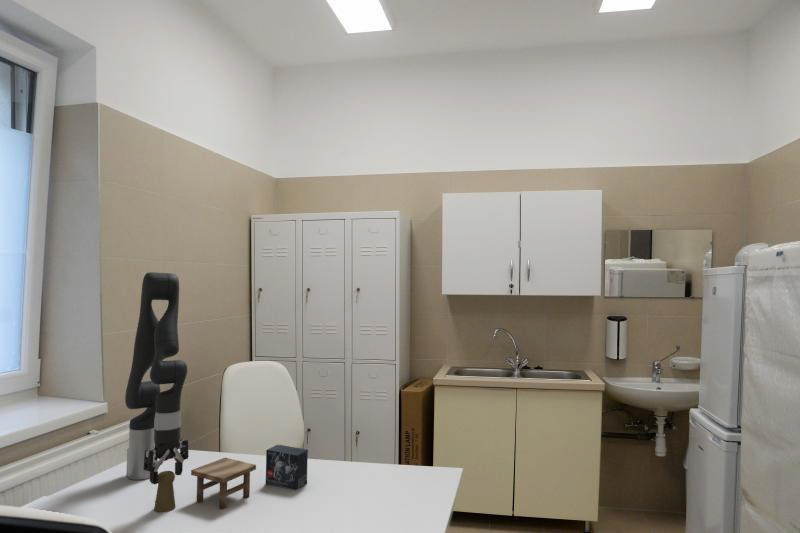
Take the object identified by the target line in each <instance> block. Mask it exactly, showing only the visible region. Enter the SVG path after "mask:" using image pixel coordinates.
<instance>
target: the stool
mask: <svg viewBox="0 0 800 533" xmlns="http://www.w3.org/2000/svg"><path fill="white" fill-rule="evenodd" d="M256 469H257V464H254V463H249V462H246V461H242V460H236V459H234V458H233V459H232V458H229V457H222V458H220V459H218V460H215V461H212V462H209V463H207V464H205V465H204V464H203V465H202V466H201V465H200V466H199V467H195V468H193V469H191V470H190V475H191V476H194V477H196V503H198V504H199V503H202V502H204V491H205V490H207V489H209V488H212V487H214V486H216V485H218V484H219V501H218V502H219V503H218V504H219V506H218V508H219V510H225V509H226V508H227V497H229V496H230V495H233V494H235V493H236V492H239V491H241V490H242V498H245V499H248V498H250V494H251V493H250V490H251V489H250V488H251V486H250V485H251V472H253V471H256ZM242 476H243V483H240V484H238V485H235V486H233V487H231V488H229V489H228V482H230V481H232V480H235V479H237V478H239V477H242ZM205 480H209V481H207V482H206V483H204V482H205Z"/></svg>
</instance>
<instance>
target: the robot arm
mask: <svg viewBox="0 0 800 533" xmlns="http://www.w3.org/2000/svg"><path fill="white" fill-rule="evenodd" d="M140 294H141V296H140V308H139V315H138V316H139V317H138V323H137V328H136V333H135V338H134V339H135V340H134V345H133V353H132V364H131V367H130V368H131V369H130V372H129V376H128V380H127V385H126V388H125V389H126V390H125V396H124V400H125V405H126V408H128V409H129V410H138V409H139V410H140V409H145V408H146V409H145V410H144V411H143V412H142V413H140V414H138V415H136V416H134V417H132V418H131V419H130V420H129V423H128V424H129V426H128V427H129V428H128V429H129V431H128V433H129V434H128V436H129V437H128V448H127V449H126V450H127V451H126V476H127V478H128V479H130V480H134V481H135V480H137V481H138V480H139V481H140V480H147V479H149V483H150V484H151V485H158V474H159V471H158V470H159V468H160V467H161V466H162V465H163V463H164V462H166V461H168V460H172V459H173V460H174V461H175V462H174V474H175V476H181V475H182V473H183V468H184V467H183V466H184V465H183V463H184V462H185V460H188V459H189V441H188V439H187V440H186V439H183V438H182V439H181V433H182V432H181V431H182V430H181V429H182V428H181V427H182V414H181V399H182V392H183V387H184V384H185V381H186V378H187V374H188V365H187V363H186V362H185V361H184V360H183V359H182V360H181V359H177V360H175V359H174V360H165V359H167V358H172V357H174V356H177V354H178V353H179V351H180V344H179V343H180V342H179V333H178V332H179V331H178V319H179V308H180V307H179V306H180V304H179V303H180V280H179V277H178V275H177V274H175V273H168V272H154V271H153V272H146V273H145V275H144V276H143V279H142V284H141V293H140ZM153 301H168V304H167V308H166V310H165V312H164V313H163V315H162V317H161V318H160V319H159V320H158V317H157V316H156V313H155V312H154V309H153V306H152V303H153ZM149 369H150V370H149ZM148 370H149V371H150V372H149V379H150V380H146V381H143V379H144V376H145V374H146V373H147V372H148ZM167 384H168V385H169V384H173V385H172V387H170V388H169V389H167V390H162V391H161V386H160V385H167Z"/></svg>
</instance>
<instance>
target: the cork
mask: <svg viewBox="0 0 800 533" xmlns="http://www.w3.org/2000/svg"><path fill="white" fill-rule="evenodd" d="M175 478H176V475H175V471H172V470H164V471H161V472H158V483H157V491H156V496H155V501H154V507H153V508H154V509H153V511H154V512H155V513H163V514H164V513H168V512H172V511H174V510H175V509H176V499H175V490H174V482H175Z"/></svg>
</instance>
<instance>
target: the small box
mask: <svg viewBox="0 0 800 533" xmlns="http://www.w3.org/2000/svg"><path fill="white" fill-rule="evenodd" d="M308 452H309V450H308V449H306V448H300V447H294V446H290V445H289V446H288V445H283V444H276V445H274V446H272V447H270V448H267V449H266V454H265V464H266V465H265V485H269V486H274V487H278V488H279V487H280V488H284V489H289V490H294V491H298V490H299V489H301V488H303V487H304V486H306V485H307V484H308Z"/></svg>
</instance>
